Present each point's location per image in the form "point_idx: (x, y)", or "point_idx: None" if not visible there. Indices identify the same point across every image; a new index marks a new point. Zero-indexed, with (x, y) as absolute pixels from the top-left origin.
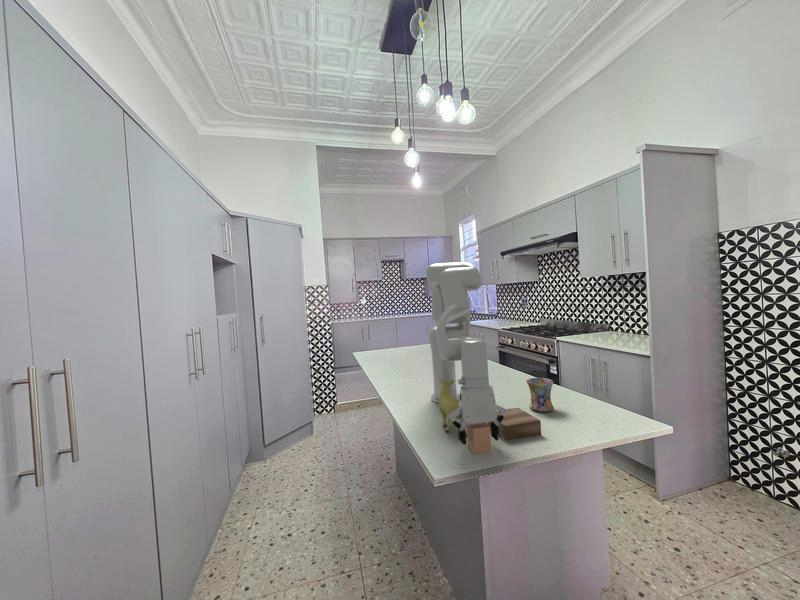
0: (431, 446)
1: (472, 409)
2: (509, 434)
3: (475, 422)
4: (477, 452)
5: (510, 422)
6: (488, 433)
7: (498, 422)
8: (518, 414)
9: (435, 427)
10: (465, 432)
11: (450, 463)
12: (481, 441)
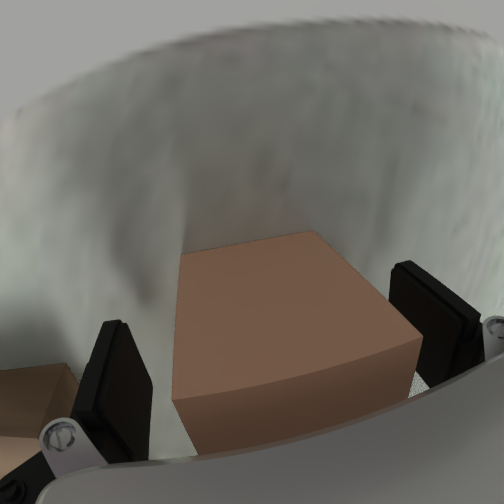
0: None
1: None
2: (35, 391)
3: (464, 394)
4: (292, 235)
5: (17, 460)
6: (196, 336)
7: (50, 451)
8: None
9: None
10: (455, 315)
11: (464, 139)
12: (273, 279)
